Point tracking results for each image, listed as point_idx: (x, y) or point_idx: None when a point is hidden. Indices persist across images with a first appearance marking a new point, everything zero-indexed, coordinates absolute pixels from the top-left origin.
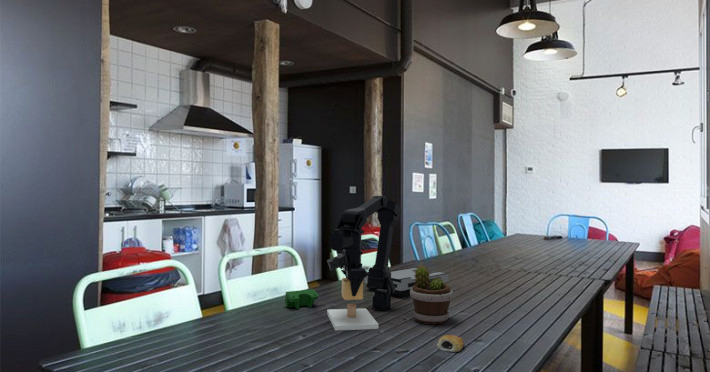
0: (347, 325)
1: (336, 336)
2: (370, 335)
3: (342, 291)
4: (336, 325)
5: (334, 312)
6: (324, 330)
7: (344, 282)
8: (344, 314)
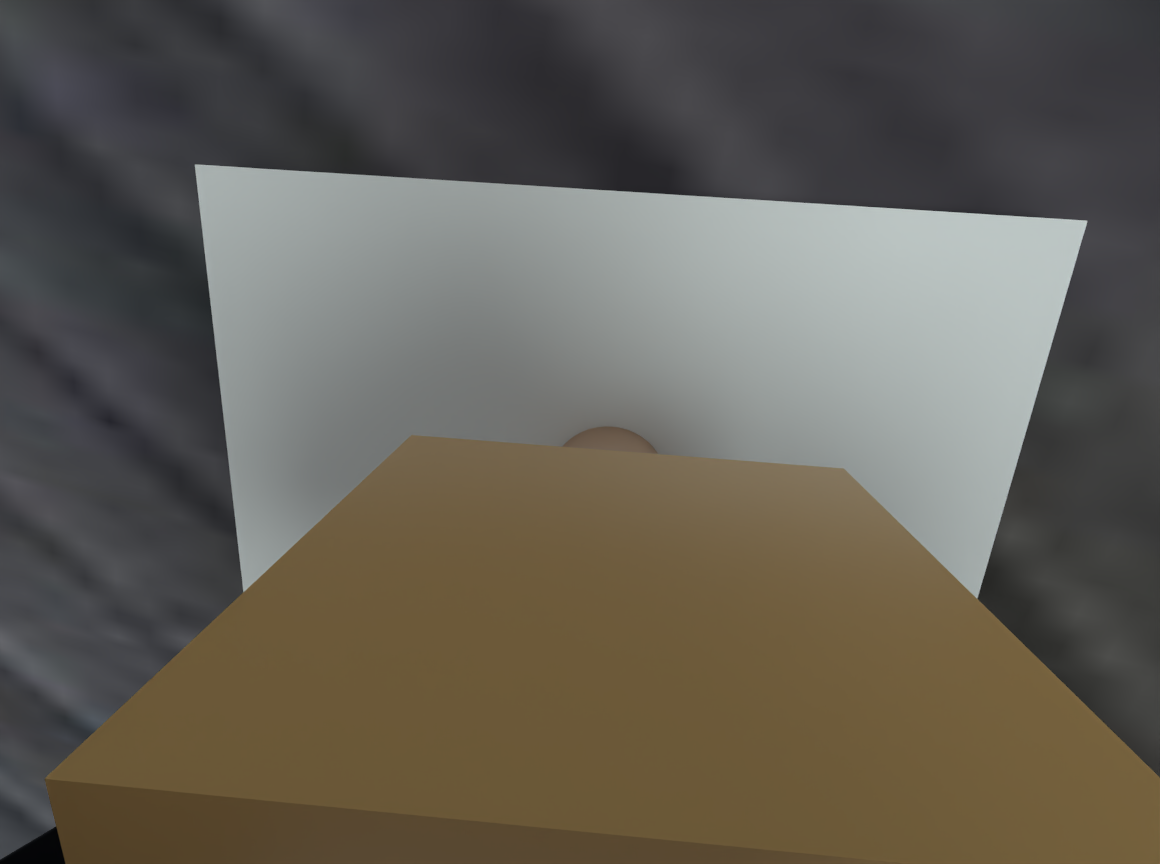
0: (214, 334)
1: (6, 138)
2: (68, 514)
3: (729, 511)
4: (211, 185)
5: (874, 300)
6: (246, 22)
7: (150, 738)
8: (730, 417)
